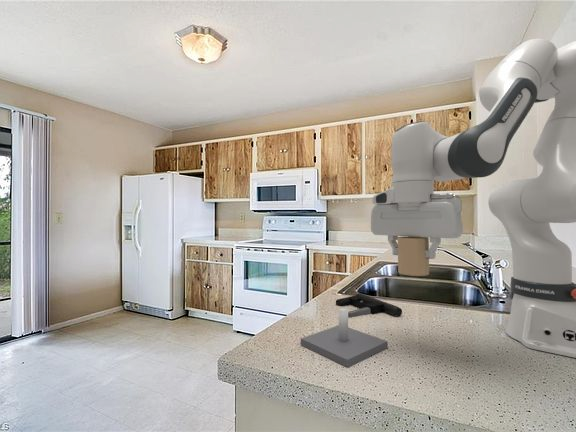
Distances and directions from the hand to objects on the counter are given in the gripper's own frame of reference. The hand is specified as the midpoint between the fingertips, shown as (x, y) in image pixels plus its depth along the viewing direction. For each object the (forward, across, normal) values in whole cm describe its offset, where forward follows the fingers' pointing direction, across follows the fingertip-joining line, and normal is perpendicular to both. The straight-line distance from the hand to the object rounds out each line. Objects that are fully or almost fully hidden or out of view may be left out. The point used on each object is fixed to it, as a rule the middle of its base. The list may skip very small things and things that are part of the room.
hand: (413, 256), depth 69 cm
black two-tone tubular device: (+22, +25, -14) cm, 36 cm away
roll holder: (+21, +11, +11) cm, 26 cm away
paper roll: (+4, 0, 0) cm, 4 cm away
